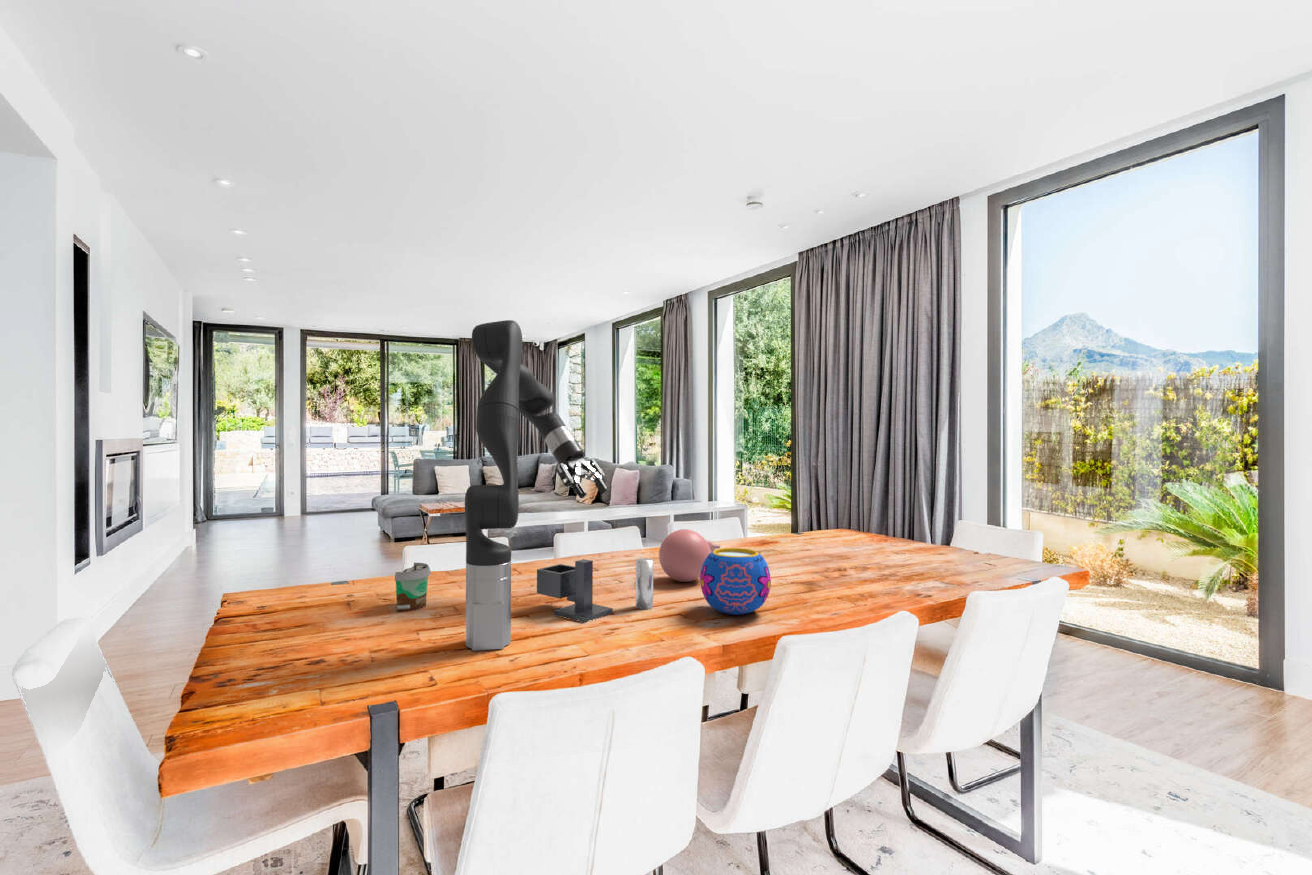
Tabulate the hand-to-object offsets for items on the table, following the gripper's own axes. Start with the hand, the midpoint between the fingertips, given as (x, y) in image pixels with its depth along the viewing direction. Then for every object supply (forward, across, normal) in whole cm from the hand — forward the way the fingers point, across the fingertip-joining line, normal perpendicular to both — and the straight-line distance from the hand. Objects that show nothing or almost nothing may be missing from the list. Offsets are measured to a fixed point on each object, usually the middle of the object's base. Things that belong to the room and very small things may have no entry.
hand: (594, 494), depth 171 cm
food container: (0, -35, +40) cm, 53 cm away
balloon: (+30, +31, +11) cm, 44 cm away
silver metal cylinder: (+32, -1, +5) cm, 32 cm away
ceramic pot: (+45, +9, -10) cm, 47 cm away
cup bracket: (+23, -15, +14) cm, 31 cm away
